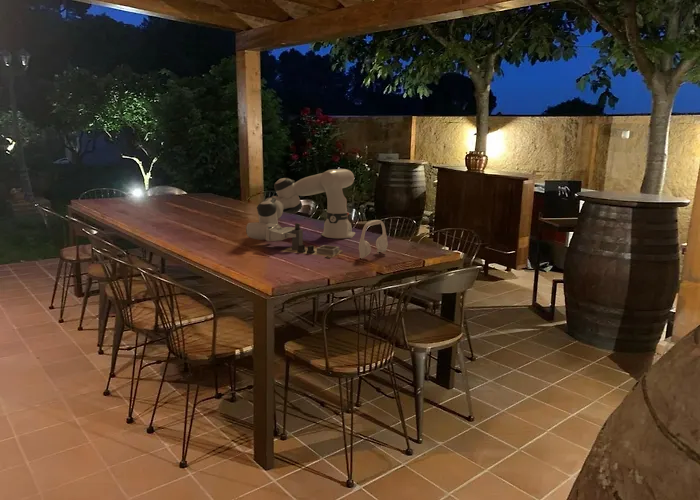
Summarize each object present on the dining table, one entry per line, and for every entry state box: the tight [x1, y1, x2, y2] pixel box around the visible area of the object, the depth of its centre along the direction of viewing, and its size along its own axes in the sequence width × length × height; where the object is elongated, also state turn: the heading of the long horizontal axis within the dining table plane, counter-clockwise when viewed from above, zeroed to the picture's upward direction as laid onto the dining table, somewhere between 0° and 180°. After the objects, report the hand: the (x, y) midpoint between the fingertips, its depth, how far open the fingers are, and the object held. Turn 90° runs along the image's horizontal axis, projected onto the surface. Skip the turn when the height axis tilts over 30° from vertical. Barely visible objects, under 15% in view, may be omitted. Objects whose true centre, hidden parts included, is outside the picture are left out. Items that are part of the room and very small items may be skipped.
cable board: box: [281, 244, 344, 259], centre depth 279 cm, size 16×27×5 cm, turn 69°
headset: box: [358, 219, 389, 259], centre depth 273 cm, size 20×7×18 cm, turn 143°
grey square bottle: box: [291, 223, 304, 250], centre depth 280 cm, size 4×4×13 cm
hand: (299, 234), depth 280 cm, fingers open, 4 cm apart
